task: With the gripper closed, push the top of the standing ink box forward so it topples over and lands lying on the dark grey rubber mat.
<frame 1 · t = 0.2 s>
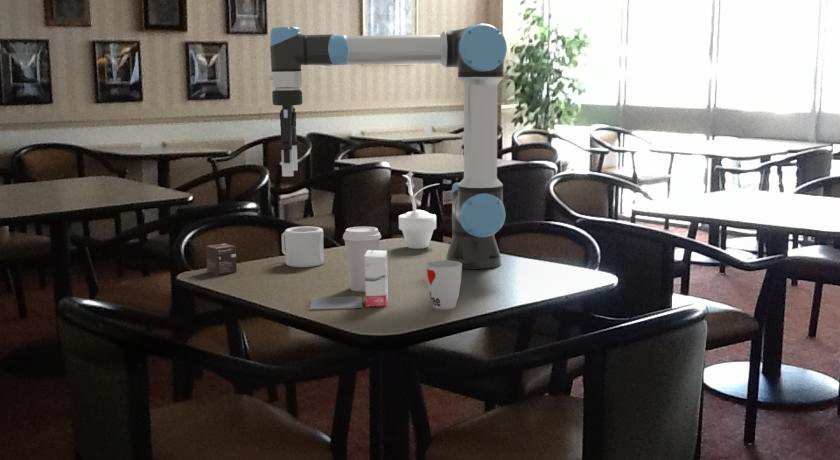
hand: (290, 173, 247), 28 cm above the table, fingers open, 13 cm apart
cup: (444, 307, 221), on the table
coffee cup: (363, 289, 240), on the table
box: (221, 273, 262), on the table
potted plant: (419, 247, 295), on the table
mug: (301, 264, 273), on the table
mat: (336, 303, 225), on the table
ink box: (377, 303, 226), on the table
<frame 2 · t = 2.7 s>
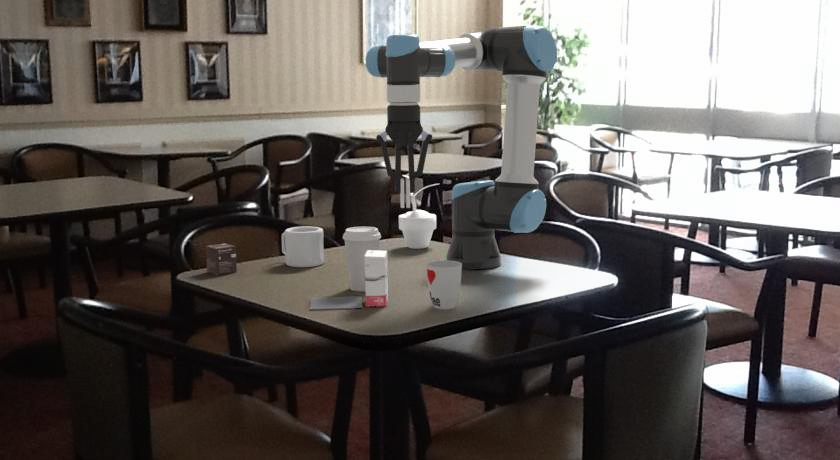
hand: (405, 206, 223), 22 cm above the table, fingers closed
nothing on the table moved.
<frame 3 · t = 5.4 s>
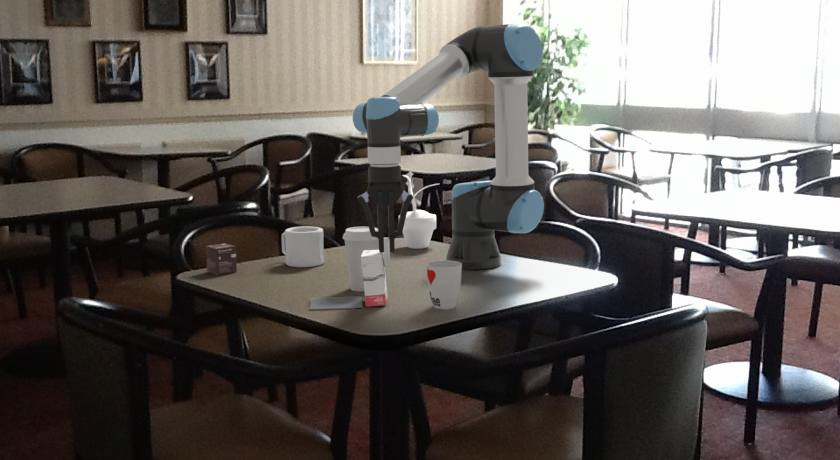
hand: (387, 265, 225), 9 cm above the table, fingers closed
ink box: (376, 302, 226), on the table, touching gripper
everything else where it was.
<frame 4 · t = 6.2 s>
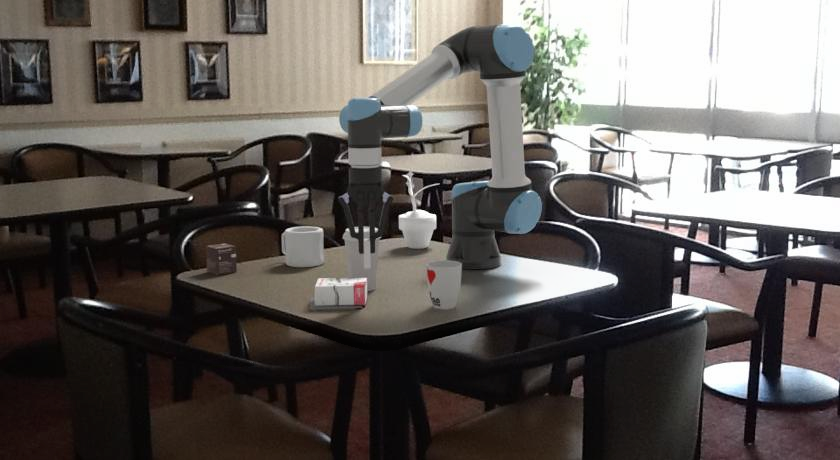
hand: (367, 267, 224), 9 cm above the table, fingers closed
ink box: (367, 291, 225), point 3 cm above the table, touching mat
everything else where it was.
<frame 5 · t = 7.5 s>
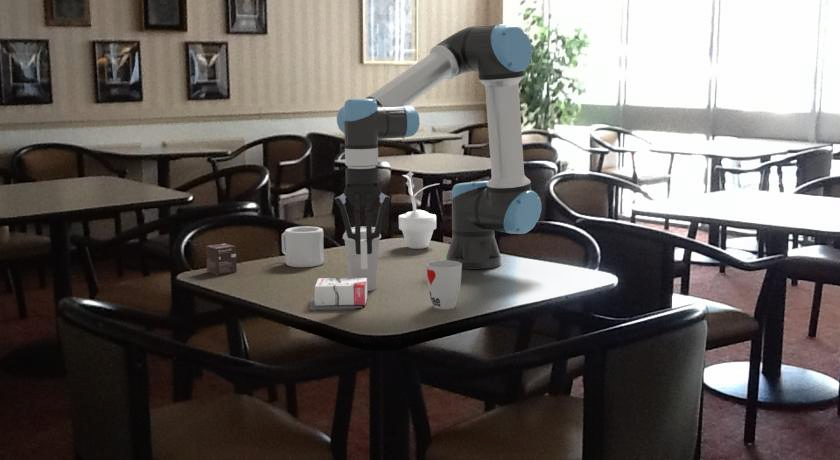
hand: (364, 267, 224), 8 cm above the table, fingers closed
nothing on the table moved.
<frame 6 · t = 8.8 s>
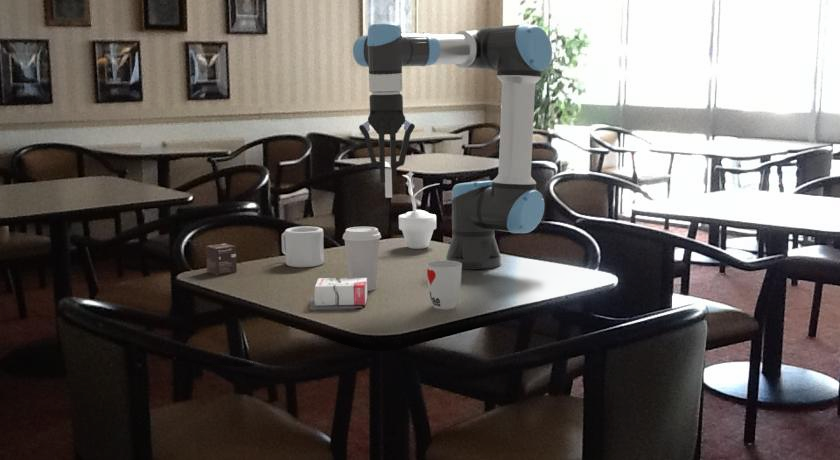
hand: (388, 196, 222), 25 cm above the table, fingers closed
nothing on the table moved.
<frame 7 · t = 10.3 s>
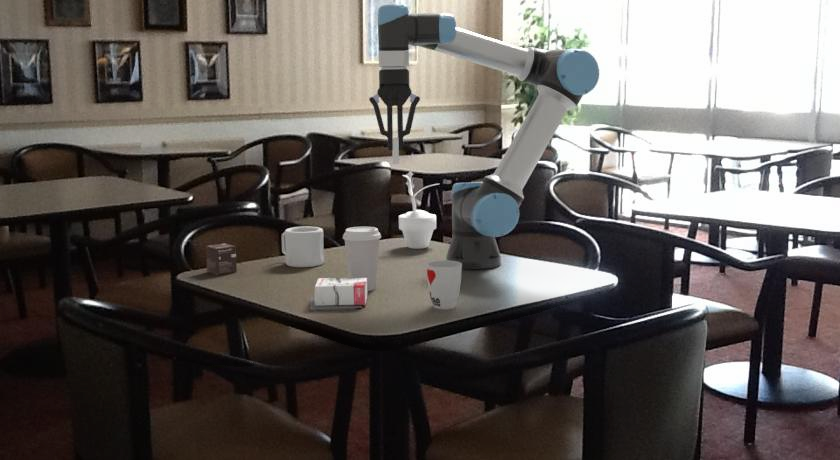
hand: (395, 163, 244), 30 cm above the table, fingers closed
nothing on the table moved.
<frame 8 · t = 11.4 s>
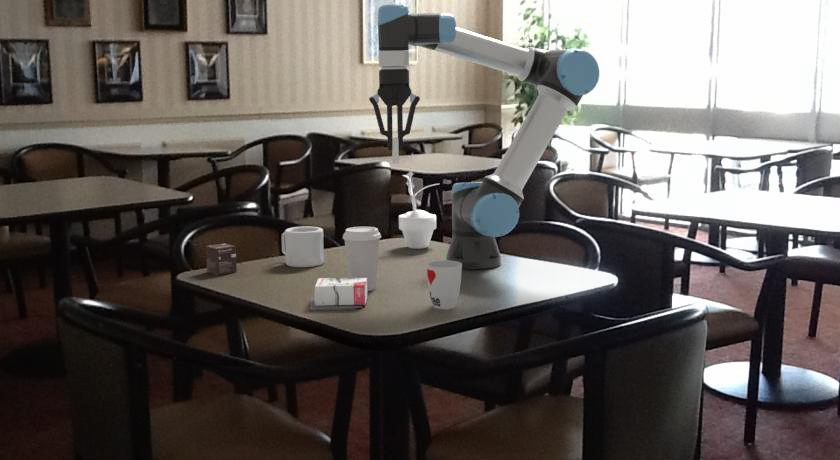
hand: (395, 162, 244), 30 cm above the table, fingers closed
nothing on the table moved.
at the end: ink box tilted 90°; ink box 7.3 cm from the mat (horizontally); the gripper is holding nothing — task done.
